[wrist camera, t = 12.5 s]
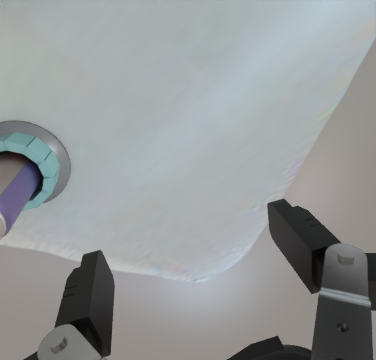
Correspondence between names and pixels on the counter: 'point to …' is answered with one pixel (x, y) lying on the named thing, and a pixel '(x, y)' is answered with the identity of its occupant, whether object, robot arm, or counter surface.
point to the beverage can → (15, 186)
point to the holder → (38, 157)
